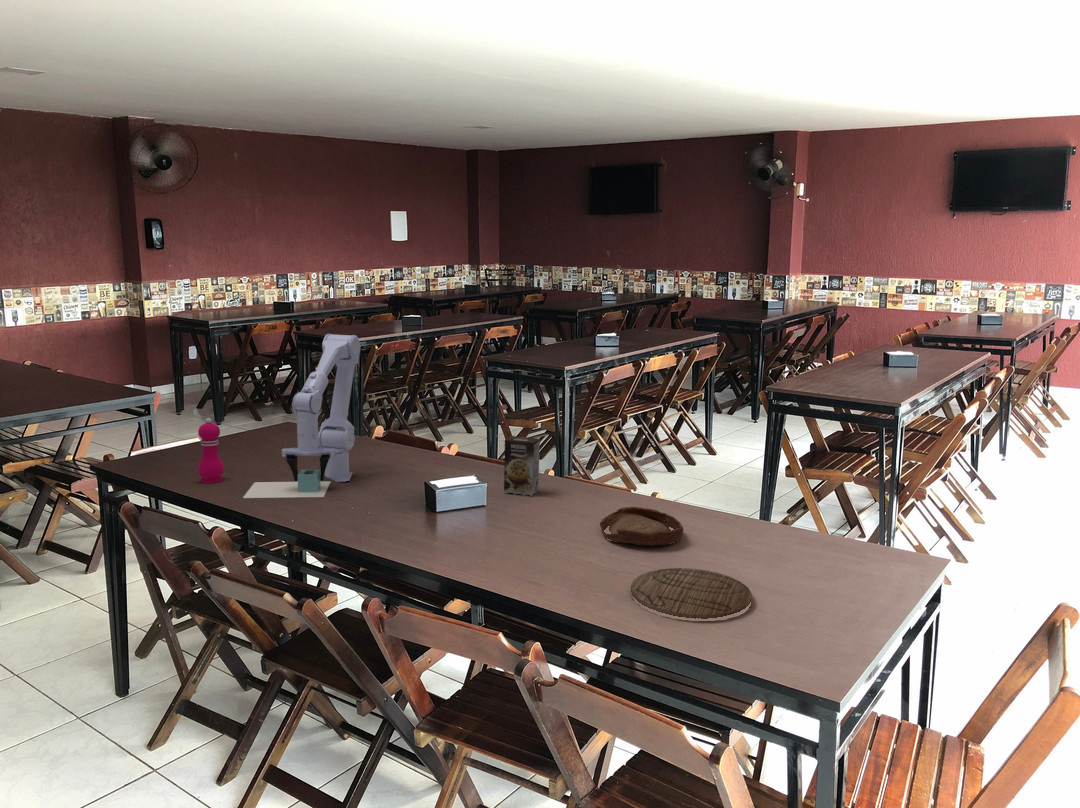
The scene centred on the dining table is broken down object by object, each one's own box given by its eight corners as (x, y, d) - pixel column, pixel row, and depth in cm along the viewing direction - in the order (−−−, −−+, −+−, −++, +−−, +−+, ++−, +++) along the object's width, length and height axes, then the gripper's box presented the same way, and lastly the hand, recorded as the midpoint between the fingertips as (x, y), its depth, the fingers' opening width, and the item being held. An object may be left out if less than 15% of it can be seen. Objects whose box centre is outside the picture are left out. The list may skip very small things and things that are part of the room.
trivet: (741, 632, 170) (741, 623, 170) (615, 610, 179) (616, 602, 179) (759, 586, 193) (760, 578, 193) (647, 569, 202) (648, 561, 202)
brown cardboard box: (503, 493, 259) (503, 439, 256) (510, 488, 265) (510, 435, 262) (532, 496, 256) (533, 442, 253) (539, 490, 262) (540, 437, 259)
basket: (586, 527, 231) (587, 508, 230) (655, 519, 238) (656, 501, 237) (624, 556, 210) (625, 536, 209) (698, 547, 217) (699, 527, 216)
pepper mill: (229, 481, 267) (225, 416, 263) (218, 487, 260) (214, 420, 256) (205, 480, 268) (202, 415, 264) (194, 486, 260) (190, 420, 257)
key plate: (254, 486, 262) (254, 471, 261) (330, 485, 264) (330, 470, 264) (242, 502, 246) (242, 486, 246) (323, 500, 249) (323, 485, 248)
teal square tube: (301, 486, 258) (300, 469, 257) (320, 486, 259) (320, 469, 258) (298, 492, 253) (297, 475, 252) (318, 491, 253) (317, 474, 252)
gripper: (279, 437, 248) (280, 484, 251) (332, 437, 250) (333, 483, 252) (283, 431, 255) (285, 477, 258) (335, 431, 257) (336, 477, 259)
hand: (309, 480), depth 255 cm, fingers open, 7 cm apart
